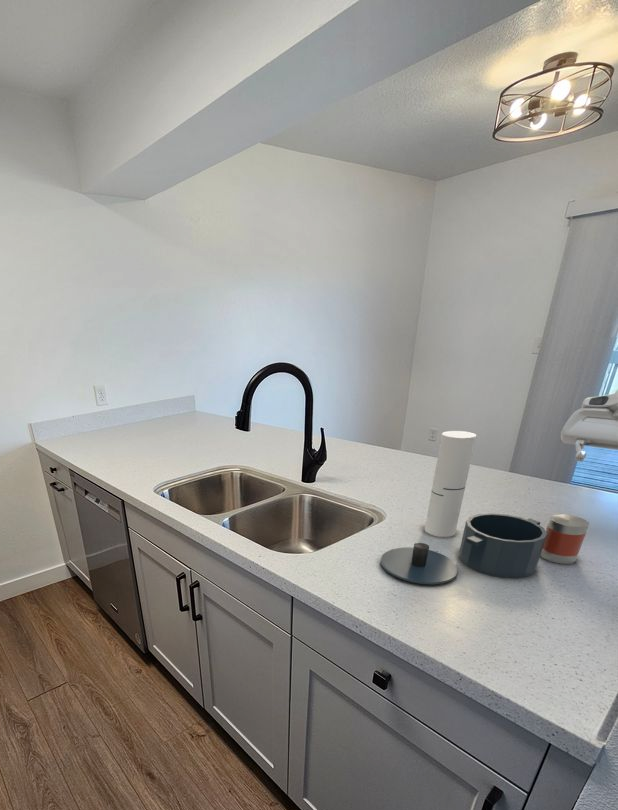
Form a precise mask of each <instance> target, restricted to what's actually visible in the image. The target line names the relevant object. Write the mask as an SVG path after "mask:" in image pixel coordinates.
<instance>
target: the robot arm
mask: <svg viewBox="0 0 618 810" xmlns="http://www.w3.org/2000/svg"><path fill="white" fill-rule="evenodd" d="M580 407H581V408H579V409H577V410H575V411H573V412H572V414H571V415H570V416H569V418H568V419H567V421H566V422H565V424H564V425H563V427H562V429H561V432H560V440H561V442H562V443H563V444H568V445H575V451H576V454H575V456H574V461H576V462H582V463H583V462H584V461H585V459H586V456H587V451H584V450H583V449H584V447H592V448H600V449H607V450H616V451H618V389H617V390H616V391H615V392H614V393H609V394H605V395H604V394H603V395H596V396H590V397H586V398H584V400H583V401H582V404H581V406H580Z"/></svg>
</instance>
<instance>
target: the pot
mask: <svg viewBox="0 0 618 810" xmlns="http://www.w3.org/2000/svg"><path fill="white" fill-rule="evenodd" d="M546 537H547V532H546V528H544V527H543V526H541V521H539V520H535V519H532V518H527V519H526V518H523V517H520V516H515V515H511V514H505V513H504V514H503V513H490V512H489V513H478V514H475V515H471V516H470V517H468V519H466V521H465V524H464V529H463V534H462V537H461V541H460V547H459V551H458V552H459V553H458V555H459V556H458V557H459V559H460V561H461V562H462V563H463V564H464V565H465V566H467V567H468V568H470V569H472V570H474V571H476V572H478V573H481V574H484V575H488V576H492V577H496V578H497V577H498V578H506V579H521V578H526V577H529V576H531V575H533V574H534V573H535V571H536V569H537V568H538V565H539V562H540V558H541V556H540V555H541V552H542V549H543V546H544V543H545V540H546Z"/></svg>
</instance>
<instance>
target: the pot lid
mask: <svg viewBox="0 0 618 810" xmlns="http://www.w3.org/2000/svg"><path fill="white" fill-rule="evenodd" d="M380 564H381V567H382V568H383V569H384V570H385V571H386V572H387V573H388V574H390V575H391V576H393V577H395V578H398V579H399V580H402V581H406V582H409V583H412V584H421V585H439V584H445V583H448V582H451V581H453V580H454V579H456V578H457V576H458V573H459V567H458V565H457V564H456V563H455V561H454V560H452V559H451V558H450V557H448V556H446V555H445V554H442V553H439V552H437V551H435V550H430V545H429V544H427V543H425V542H415V543H414V544H413V547H411V546H409V547H397V548H392V549H389V550H388V551H385V552H384V553H383V554H382V556H381V558H380Z"/></svg>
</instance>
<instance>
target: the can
mask: <svg viewBox="0 0 618 810" xmlns="http://www.w3.org/2000/svg"><path fill="white" fill-rule="evenodd" d="M589 526H590V522H589V521H588V520H586V519H584V518H583V517H579V516H576V515H572V514H563V513H562V514H561V513H560V514H553V515H551V516H550V518H549V521H548V524H547V526H546V529H545V531H546V532H547V537H546V540H545V543H544V546H543V549H542V552H541V555H540V558H541V559H544V560H546V561H547V562H551V563H554V564H559V565H572V564H574V563H576V561H577V557H578V556H579V553H580V550H581V547H582V545H583V543H584V539H585V538H586V534H587V531H588V528H589Z"/></svg>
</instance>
